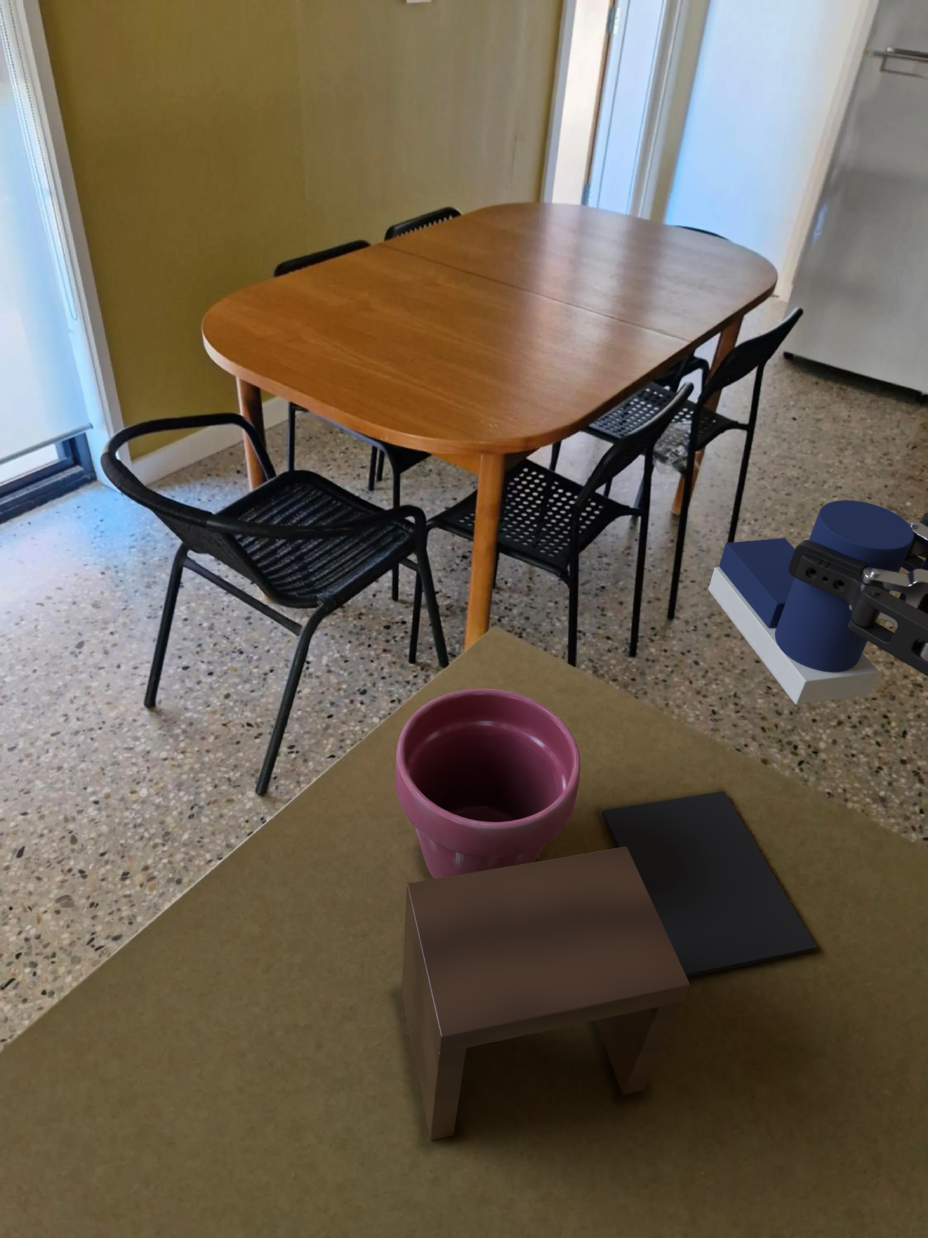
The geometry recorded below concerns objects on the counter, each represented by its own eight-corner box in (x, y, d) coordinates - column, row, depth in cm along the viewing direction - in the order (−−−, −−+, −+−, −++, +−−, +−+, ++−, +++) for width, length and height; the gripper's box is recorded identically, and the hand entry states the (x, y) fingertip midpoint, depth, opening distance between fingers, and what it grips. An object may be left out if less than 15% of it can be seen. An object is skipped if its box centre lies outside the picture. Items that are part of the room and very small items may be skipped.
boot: (869, 695, 55) (939, 548, 49) (795, 705, 54) (856, 556, 47) (772, 583, 64) (820, 446, 58) (707, 589, 63) (748, 450, 56)
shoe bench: (644, 1090, 61) (690, 985, 52) (429, 1141, 57) (440, 1037, 49) (593, 958, 68) (627, 846, 59) (401, 996, 65) (406, 883, 56)
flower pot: (377, 803, 78) (378, 699, 70) (526, 776, 82) (543, 673, 74) (416, 947, 68) (422, 844, 60) (585, 909, 71) (612, 806, 63)
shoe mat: (815, 951, 70) (817, 947, 69) (675, 980, 67) (677, 976, 67) (722, 795, 82) (724, 790, 81) (601, 814, 79) (602, 810, 79)
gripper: (1194, 547, 47) (876, 439, 55) (1157, 681, 38) (782, 528, 46) (1120, 654, 52) (837, 540, 59) (1071, 797, 42) (744, 640, 50)
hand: (815, 536), depth 52 cm, fingers closed on boot, 5 cm apart
